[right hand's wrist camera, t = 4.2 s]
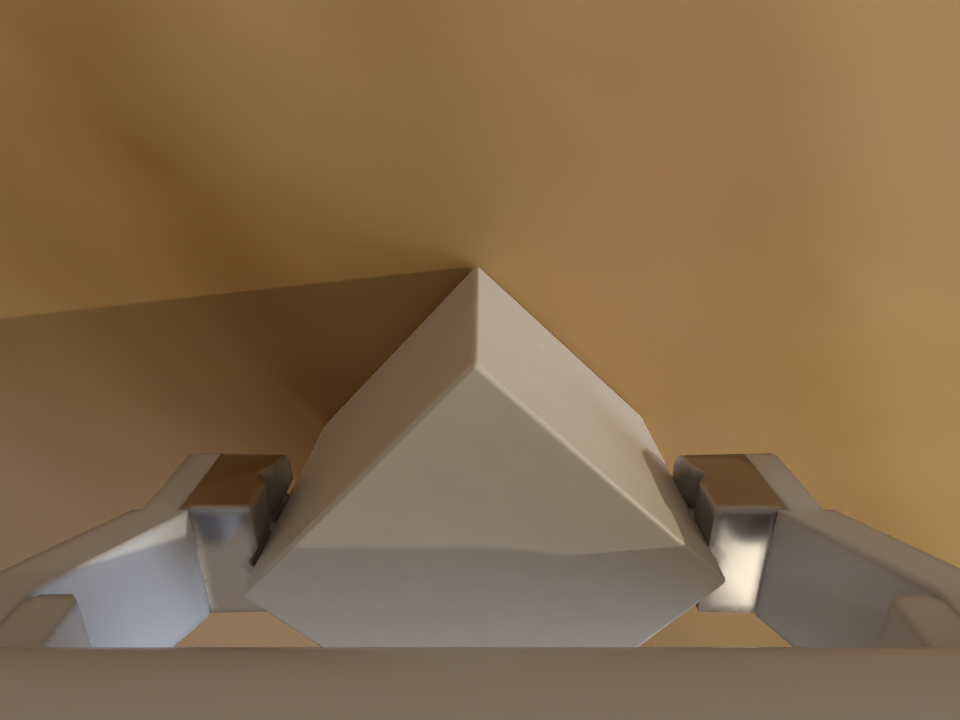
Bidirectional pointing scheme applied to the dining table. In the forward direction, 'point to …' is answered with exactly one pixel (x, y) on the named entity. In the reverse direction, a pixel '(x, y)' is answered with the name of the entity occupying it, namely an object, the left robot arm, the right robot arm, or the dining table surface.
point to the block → (483, 501)
